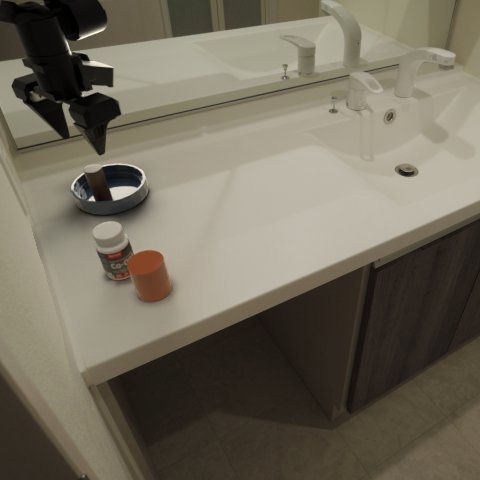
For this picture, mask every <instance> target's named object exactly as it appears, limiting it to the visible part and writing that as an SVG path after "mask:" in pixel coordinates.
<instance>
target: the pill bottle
mask: <svg viewBox="0 0 480 480" xmlns="http://www.w3.org/2000/svg"><path fill="white" fill-rule="evenodd" d="M91 234H92V237H93V239H94V250H95V251H96V254H97V256H98V258H99V261H100V262H101V265H102V268H103V270H104V272H105V274H106V276H107V277H108V278H109V279H111V280H113V281H122V280H123V281H124V280H126V279H129V278H131V276H130V273H129V271H128V268H127V263H128V261H129V259H130V258H131V257H132V256H133V255H135V253H134V250H133V248H132V245H131V242H130V238H129V237H128V235H127V234H126V233H125V231H124V229H123V227H122V224H121V223H119V222H117V221H105V222H102V223H99V224H98V225H96V226H95V227H94V228H93V229H92V233H91Z"/></svg>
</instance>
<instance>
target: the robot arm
mask: <svg viewBox="0 0 480 480" xmlns="http://www.w3.org/2000/svg"><path fill="white" fill-rule="evenodd" d="M42 1H43V4H40V3H38V2H36V1H33V0H32V1H31V0H29V1H25V2H21V3H17V2H14V1H12V0H11V1H9V0H0V23H3V24H9V25H13V27H14V29H15V32H16V34H17V37H18V39H19V41H20V45H21V46H22V49H23V51H24V54H25V57H24V58H21V61H22V64H23V66H24V67H25V68H28V69H30V70H31V71H32V73H28V74H26V75H22V76H19V77H16V78H14V79H13V81H12V83H11V89H12V91H13V94H14V95H15V97H16V99H18V100H19V99H20V100H21V101H22V103H23V104H24V105H26V106H27V107H28V108H29V109H30V110H31V111H32V112H33V113H35V114H36V116H38V117H39V118H40V120H42V121H43V122H45V123H46V124H47V125H48V126H49V128H51V129H52V130H53V131H54V132H55V133H56V134H57V135H58V136H59V137H61V138H62V139H63V140H68V139H70V138H71V134H70V130H69V125H68V122H67V119H66V115H65V111H64V107H63V105H64V104H66V105H68V109H67V111H68V113H69V116H70V117H71V119H72V120H73V121H74V122H72V124H73V126H74V127H75V128H76V129H77V131H78V132H79V133H80V134H81V136H82V137H83V139H84V140H85V141H86V142H87V143H88V145H89V146H90V147H91V148H92V150H93V151H94V152H95V154H97V155H98V156H103V155H105V154H106V148H107V147H106V146H107V145H106V144H107V131H108V126H109V124H110V122H111V121H113V120H115V119H117V117H120V116H122V115H123V111H122V107H121V104H120V101H119V100H117V99H116V98H114V97H112V96H109V95H108V94H104V93H102V92H98V91H96V92H94V93H91V94H88V95H86V96H85V95H84V94H83V93H84V92H90V91H93V90H94V88H93V86H97V87H98V86H99V87H107V88H114V87H115V67H114V66H112V65H108V64H106V63H103V62H99V61H95V60H91V59H90V57H89V55H88V54H86V53H84V52H81V51H74V50H73V51H72V52H71V49H70V46H69V42H68V41H71V42H76V41H80V40H82V39H86V38H87V37H90V36H93V35H95V34H98V33H100V32H104V30H106V28H107V26H108V15H107V12H106V11H107V10H106V9H104V7H103V5H102V4H101V2H100V1H99V0H42Z"/></svg>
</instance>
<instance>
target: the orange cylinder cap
mask: <svg viewBox="0 0 480 480" xmlns="http://www.w3.org/2000/svg"><path fill="white" fill-rule="evenodd" d="M127 268H128V271H129V273H130V279H131V281H132V284H133V287H134V289H135V292H136V295H137V297H138V298H139V299H140V300H142V301H143V302H147V303H155V302H159V301H161V300H164V299H165V298H166V297H167V296H169V295H170V293H171V291H172V288H173V284H172V281H171V277H170V274H169V271H168V267H167V264H166V262H165V257H164V255H163V254H162V253H161V252H160V251H159V250H154V249H145V250H141V251H139V252H138V251H137V252H136V253H134V255H133V256H132V257H131V258H130V259H129V261H128V263H127Z"/></svg>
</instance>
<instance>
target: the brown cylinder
mask: <svg viewBox="0 0 480 480" xmlns="http://www.w3.org/2000/svg"><path fill="white" fill-rule="evenodd" d="M102 166H103V165H101V164H99V163H91V164H87V165H86V166H84V168H83V170H82V171H83V173H84V174H85V176H86V179H87V181H88V184H89V186H90V189H91V191H92V194H93V196H94V199H95V201H110V200H113V197H112V194H111V191H110V189H109V186H108V183H107V180H106V178H105V175H104V172H103V169H102Z"/></svg>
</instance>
